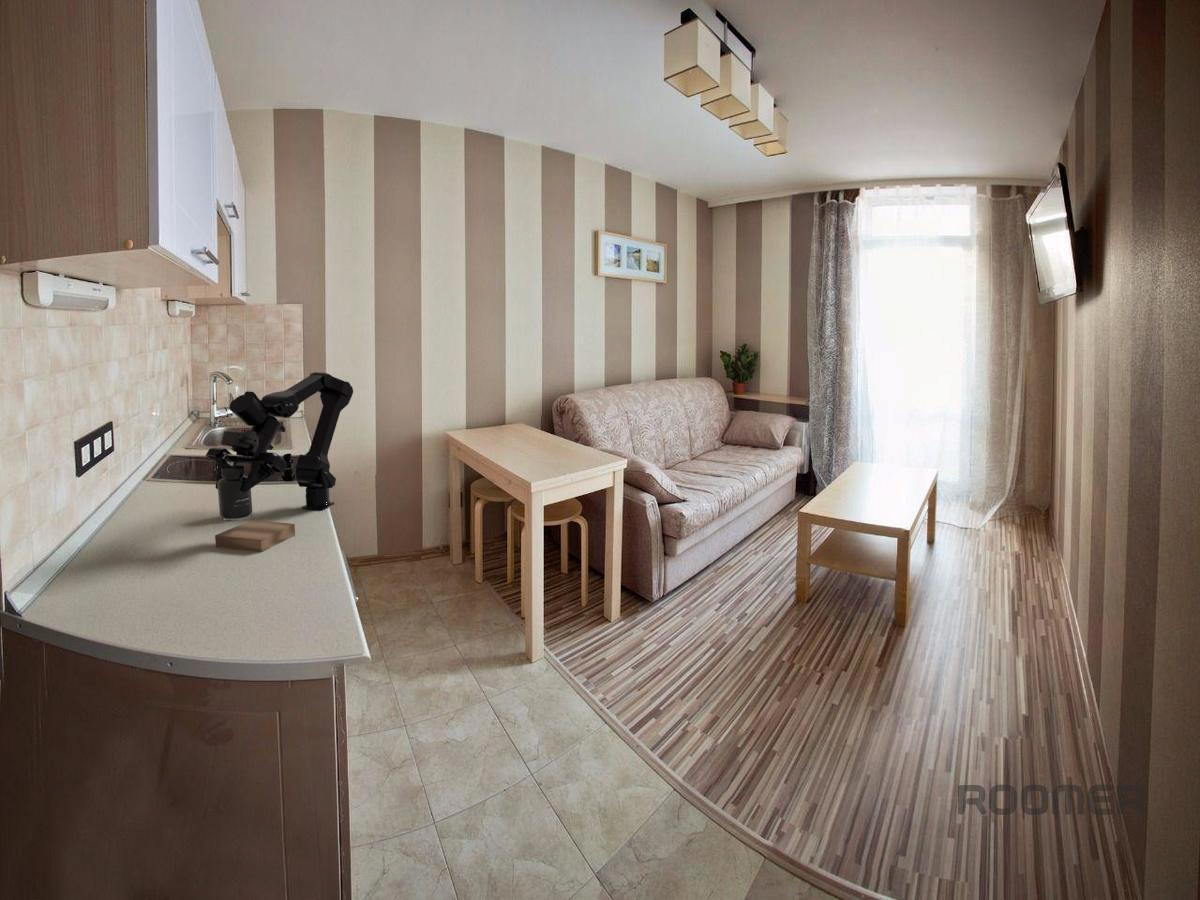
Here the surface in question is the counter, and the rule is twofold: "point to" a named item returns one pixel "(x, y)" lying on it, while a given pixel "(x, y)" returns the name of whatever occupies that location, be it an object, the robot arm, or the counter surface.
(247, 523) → the walnut plinth
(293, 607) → the counter surface
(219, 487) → the supplement bottle
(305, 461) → the robot arm
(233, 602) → the counter surface
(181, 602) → the counter surface
